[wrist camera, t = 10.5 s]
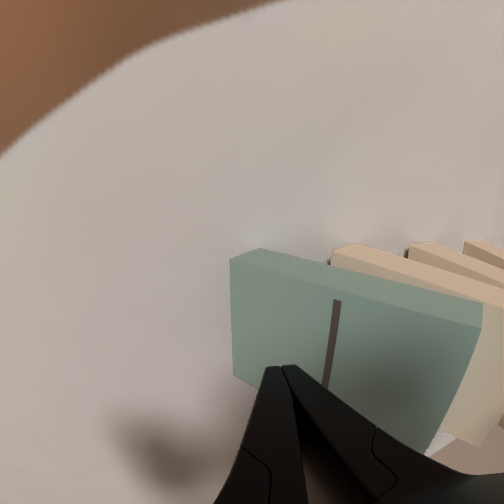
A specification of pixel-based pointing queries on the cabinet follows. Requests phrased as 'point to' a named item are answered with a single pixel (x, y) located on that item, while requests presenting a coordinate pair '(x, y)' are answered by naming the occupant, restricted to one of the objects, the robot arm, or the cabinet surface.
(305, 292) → the domino
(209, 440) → the cabinet surface
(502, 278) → the domino
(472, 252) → the domino
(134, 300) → the cabinet surface
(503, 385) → the domino
